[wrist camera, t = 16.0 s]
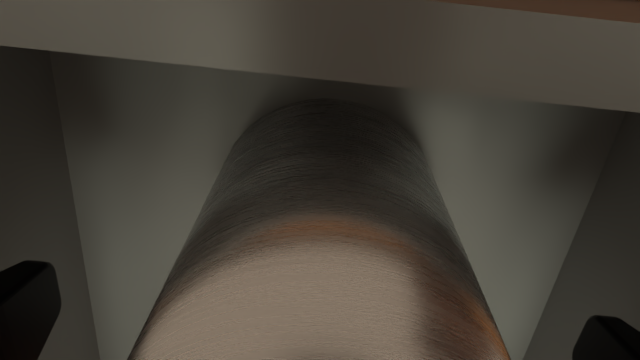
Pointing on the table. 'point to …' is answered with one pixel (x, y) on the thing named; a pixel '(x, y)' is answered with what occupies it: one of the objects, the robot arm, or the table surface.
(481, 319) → the steel canister
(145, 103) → the tote
